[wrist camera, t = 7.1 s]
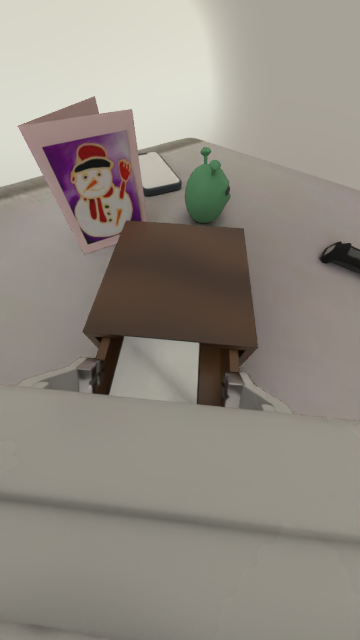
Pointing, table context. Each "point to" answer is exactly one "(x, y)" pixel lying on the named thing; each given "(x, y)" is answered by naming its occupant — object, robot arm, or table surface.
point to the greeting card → (90, 169)
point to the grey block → (157, 369)
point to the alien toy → (207, 190)
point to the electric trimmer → (342, 255)
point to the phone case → (157, 175)
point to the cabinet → (177, 287)
